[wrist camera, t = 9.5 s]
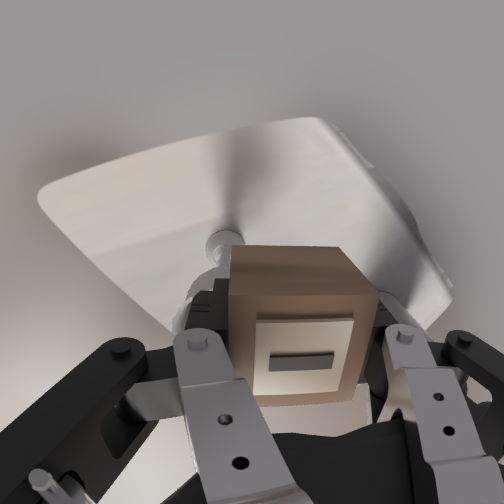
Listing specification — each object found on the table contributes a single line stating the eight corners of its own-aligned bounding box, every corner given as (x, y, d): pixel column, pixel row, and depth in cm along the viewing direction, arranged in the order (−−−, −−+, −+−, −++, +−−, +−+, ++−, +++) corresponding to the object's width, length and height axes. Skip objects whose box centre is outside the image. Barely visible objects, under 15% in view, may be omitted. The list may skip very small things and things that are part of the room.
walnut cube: (325, 335, 13) (353, 406, 9) (231, 337, 13) (229, 412, 9) (338, 246, 12) (384, 298, 8) (231, 245, 12) (228, 299, 7)
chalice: (232, 211, 38) (230, 268, 21) (265, 253, 40) (286, 335, 23) (186, 246, 39) (152, 323, 22) (219, 285, 41) (211, 379, 24)
